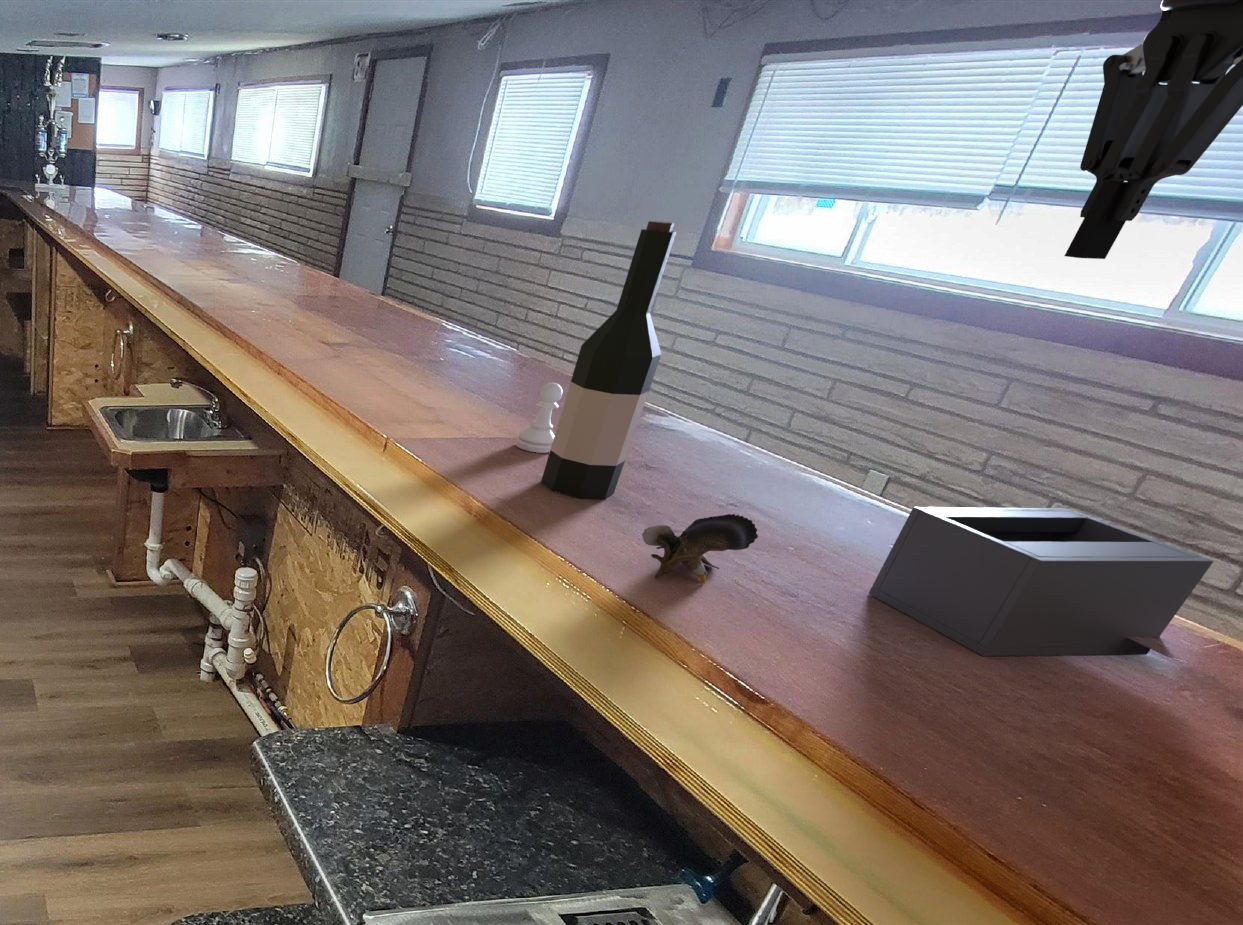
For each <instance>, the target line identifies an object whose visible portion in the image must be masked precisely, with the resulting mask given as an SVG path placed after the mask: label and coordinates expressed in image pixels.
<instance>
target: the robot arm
mask: <svg viewBox="0 0 1243 925" xmlns="http://www.w3.org/2000/svg"><path fill="white" fill-rule="evenodd" d="M1160 8H1161V17H1160V18H1159V20H1158V22H1157V23H1156V24H1155V25H1154V27H1152V29H1150V31H1149V32H1148V33H1147V34H1145V37H1144V38H1143V41H1142V43H1140V44H1139V45H1137V46H1135V47H1134V48H1132V49H1130V50H1129V51H1127V52H1125V53H1124V54H1111V55H1110V56H1108V57H1107V58H1106V59H1105V60H1104V61H1103V64H1102V74H1103V86H1102V90H1101V94H1100V97H1099V101H1098V103H1097V108H1096V111H1095V115H1094V118H1093V121H1092V125H1091V128H1090V132H1089V135H1088V138H1087V142H1086V145H1085V149H1084V151H1083V154H1082V159H1081V162H1080V166H1079V168H1080V170H1081V171H1082V172H1088V173H1090V174H1092V175H1094V176H1095V179H1096V180H1095V183H1094V186H1093V187H1092V189H1091V191H1090V193H1089V195H1088V197H1087V199H1086V201H1085V202H1084V205H1083V207H1082V208H1081V210H1080V215H1079V218H1083V219H1082V221H1081V223H1080V226H1079V227H1078V229H1077V231H1076V233H1075V235H1074V237H1073V239H1072V241H1071V242H1070V244H1069V246H1068V248H1067V250H1066V252H1065V253H1064V256H1063V257H1067V258H1074V259H1075V258H1076V259H1092V260H1093V259H1095V260H1106V258H1107V256H1108V255H1109V253H1110V251H1111V249H1112V248H1113V246H1114V243H1115V242H1116V241H1117V238H1118V236H1119V235H1120V232H1122V230H1123V227H1124V225H1125V224H1126V222H1132V221H1133V220H1134V219H1135V218H1136V217H1137V216H1138V215H1139V213H1140V210H1141V209H1142V207H1143V205H1144V203H1145V202H1146V200H1147V198H1148V196H1149V195H1150V193H1151V191H1152V189H1153V188H1154V186H1155V185H1156V184H1157V183H1158V182H1159V181H1161V180H1163V179H1167V178H1170V177H1173V176H1183V175H1185V174H1187V173H1188V172H1190V170H1192V169H1193V167H1194V166H1195V164H1196V163H1197V162H1198V161H1199V160H1200V158H1201V157H1202V156H1203V155H1204V153H1206V151H1207V150H1208V148H1209V147H1210V146H1211V145H1212V144H1213V143H1214V141H1215V140H1216V139H1217V138H1218V136H1219V135H1220V134H1221V133H1222V131H1223V130H1224V129H1225V128H1226V127H1227V126H1228V124H1229V123H1230V122H1231V121H1232V120H1233V119H1234V117H1235V115H1236V114H1237V113H1238V112H1239V111H1240V109H1241V108H1242V107H1243V0H1162V1H1161V3H1160ZM1231 67H1232V68H1231Z"/></svg>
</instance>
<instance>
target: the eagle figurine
mask: <svg viewBox="0 0 1243 925" xmlns="http://www.w3.org/2000/svg"><path fill="white" fill-rule="evenodd" d="M757 532H758V528H757V527H756V524H755V523H753V520H752V519H749V518H748V517H744V515H739V514H736V513H732V514H731V513H728V514H724V515H715V516H709V517H702V518H701V517H700V518H697V519H695V520H694V521H693V522H692V523H691V524H690V525H688V527H687V528H685V530H683V531H682V533H681V534H680V535H676V534H675V532H674V530H672V528H671V527H670V526H669V525H662V524H661V525H654V526H648V527H647V528H644V530H643V532H642V534H641V536H642V540H643V542H644V543H645V545H647V546H653V547H656V548H655V549H656V550H659V549H664V550H663V551H664V552H663V556H660V555H659V554H656V553H651V554H650V556H651V558H652V559H656V560H657V561H659V563H660V566H659V569H658V571H657V572H656V574H655V576H654V579H656V580H657V579H659V578H662V577H664V576H665V575H669V574H670V573H671V572H672V571H673V570H674V569H675V568H676V567H677V566H678V565H679V564H681V565H682V566H684V568H687V569H689V570H690V571H692V573H693V574H694V575H695V576H696V577H697V578H698V579H700V581H701V583H702V584H705V583H706V577H707V575H708V572H707V570H706V568H705V566H704V565H706V566H710V567H712V568H715V569H717V570H720V567H719V566H717V565H715V564H713V563H712V562H711V561H709V560H708V558H707V556H706V555H705V554H707V553H708V552H724V551H725V552H726V551H729V550H730V551H741V550H745V549H748V548H749V547H750V545H751V544H753V543H755V540H757V539H758V538H759V536H758V535H759V534H758V533H757Z"/></svg>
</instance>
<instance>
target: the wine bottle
mask: <svg viewBox="0 0 1243 925" xmlns="http://www.w3.org/2000/svg"><path fill="white" fill-rule="evenodd" d="M674 226H675V222H672V221H671V222H670V221H662V220H661V221H660V220H659V221H657V220H649V221H648V223H647V225H646V228H642V229H641V230H640V233H639V236H638V238H637V239H638V240H637V243H636V246H635V249H634V252H633V255H632V259H631V262H630V265H629V269H628V272H627V275H626V278H625V281H624V284H623V288H622V290H621V294H620V297H619V301H618V304H617V307H616V310H615V311H614V312H613V313H612V314H611V315H610V316H609V317H608V318H607V319H606V320H605V321H604V322H603V323H602V324H601V325H600V326H599V327H598V328H597V329H596V330H595V331H594V332H593V333H592V334H591V335H590V336H589V337H588V338H587V339H586V340H585V341H584V342H583V343H582V344H581V346H580V348H579V349H580V350H579V353H578V356H577V359H576V363H575V366H574V369H573V373H572V376H571V379H570V382H569V386H568V389H567V393H566V397H565V400H564V403H563V406H562V409H561V413H560V415H559V420H558V424H557V426H556V429H555V433H554V435H555V436H554V440H553V443H552V446H551V450H550V453H548V457H547V459H546V464H545V467H544V470H543V474H542V476H541V480H540V483H541V482H542V483H541V484H542V485H544V486H545V485H546V486H547V487H546V486H545V487H546V488H548V489H549V488H550V489H551V490H552V492H554V491H557V492H556V493H558V492H560V493H559V494H561V493H562V494H561V495H565V494H567V495H566V496H569V497H573V498H577V499H590V500H593V499H594V500H606V499H607V498H609V497H610V496H612V495H613V494H615V491H616V489H617V485H618V483H619V480H620V478H621V474H622V471H623V468H624V464H625V462H626V459H627V457H628V453H629V450H630V447H631V445H632V442H633V438H634V436H635V433H636V430H637V427H638V424H639V421H640V418H641V416H642V412H643V409H644V406H645V404H646V400H647V398H648V395H649V392H650V389H651V386H652V383H653V380H654V377H655V375H656V371H657V368H658V365H659V363H660V359H661V356H662V350H661V348H660V344H659V340H658V337H657V333H656V329H655V325H654V323H653V320H652V319H653V318H652V316H651V311H652V308H653V305H654V303H655V299H656V296H657V294H658V289H659V287H660V284H661V281H662V278H663V275H664V271H665V268H666V266H667V262H668V259H669V257H670V254H671V251H672V248H673V244H674V241H675V238H676V236H677V231H673V229H674ZM550 489H549V490H550ZM551 490H550V491H551Z"/></svg>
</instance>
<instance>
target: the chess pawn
mask: <svg viewBox="0 0 1243 925" xmlns="http://www.w3.org/2000/svg"><path fill="white" fill-rule="evenodd" d="M538 392H539V393H538V397H539V399H540V400H538V401H537V402H536V403H535V406H537V407H540V408H539V410H538V413H537V415H536V417H535V419H534V420H533V421H530V423H529V427H528V428H526V429H524V430H522V431H521V432H519V433H518V438H517V440H516V442H515V446H516V447H517V448H519V449H521V450H522V451H526V452H530V453H535V452H536V453H537V454H549V453H548V452H550V450H551V446H552V443H553V440H554V436H555V433H553V431H552V429H553V428H554V425H553V424H552V423H551V419H552V418H551V417H552V412H553V410H554V409H555V410H556V409H559V404H558V403H557V402H558V401H559V400H560V399H561V398H562V396H563V388H562V386H561V385H560V384H558V383H556V382H548V383H544V384H543V385H542V386H541V387H540V388H539V391H538ZM536 453H535V454H536Z"/></svg>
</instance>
